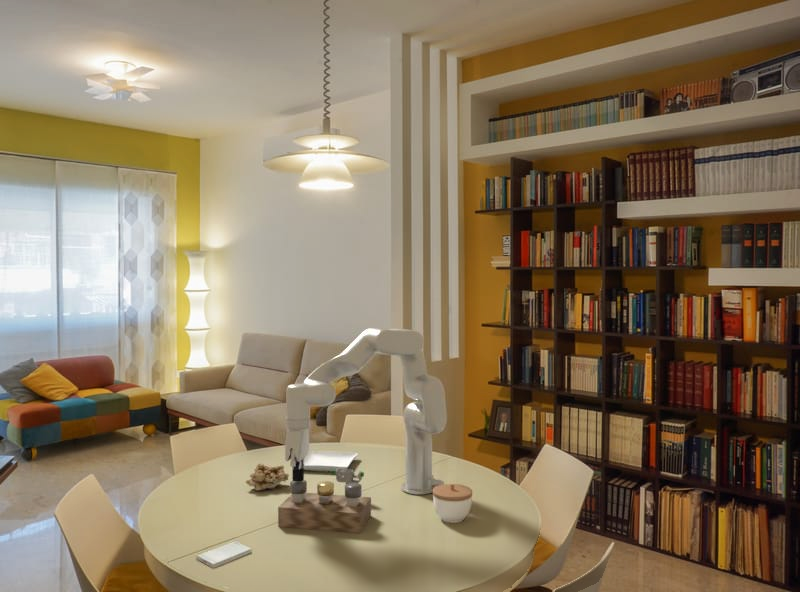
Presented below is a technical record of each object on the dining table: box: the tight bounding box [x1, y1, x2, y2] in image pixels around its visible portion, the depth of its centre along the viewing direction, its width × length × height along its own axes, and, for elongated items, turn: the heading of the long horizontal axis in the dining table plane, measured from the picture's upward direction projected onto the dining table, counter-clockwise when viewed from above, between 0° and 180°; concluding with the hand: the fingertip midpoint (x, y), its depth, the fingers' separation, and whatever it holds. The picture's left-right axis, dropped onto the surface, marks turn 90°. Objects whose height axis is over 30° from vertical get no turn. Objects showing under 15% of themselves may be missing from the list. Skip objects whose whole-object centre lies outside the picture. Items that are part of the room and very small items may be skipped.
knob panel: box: [277, 492, 372, 534], centre depth 199 cm, size 26×14×6 cm, turn 79°
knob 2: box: [344, 483, 363, 507], centre depth 197 cm, size 5×5×8 cm
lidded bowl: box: [432, 483, 473, 524], centre depth 201 cm, size 13×13×11 cm
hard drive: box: [195, 540, 253, 569], centre depth 174 cm, size 2×8×12 cm
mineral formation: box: [245, 463, 290, 492], centre depth 230 cm, size 8×13×15 cm
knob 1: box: [289, 479, 308, 503], centre depth 200 cm, size 5×5×8 cm
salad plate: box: [302, 450, 359, 473], centre depth 257 cm, size 21×21×3 cm
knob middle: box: [316, 480, 335, 505], centre depth 199 cm, size 5×5×8 cm
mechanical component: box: [333, 468, 365, 485], centre depth 218 cm, size 3×10×10 cm, turn 78°
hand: (298, 480), depth 200 cm, fingers closed
